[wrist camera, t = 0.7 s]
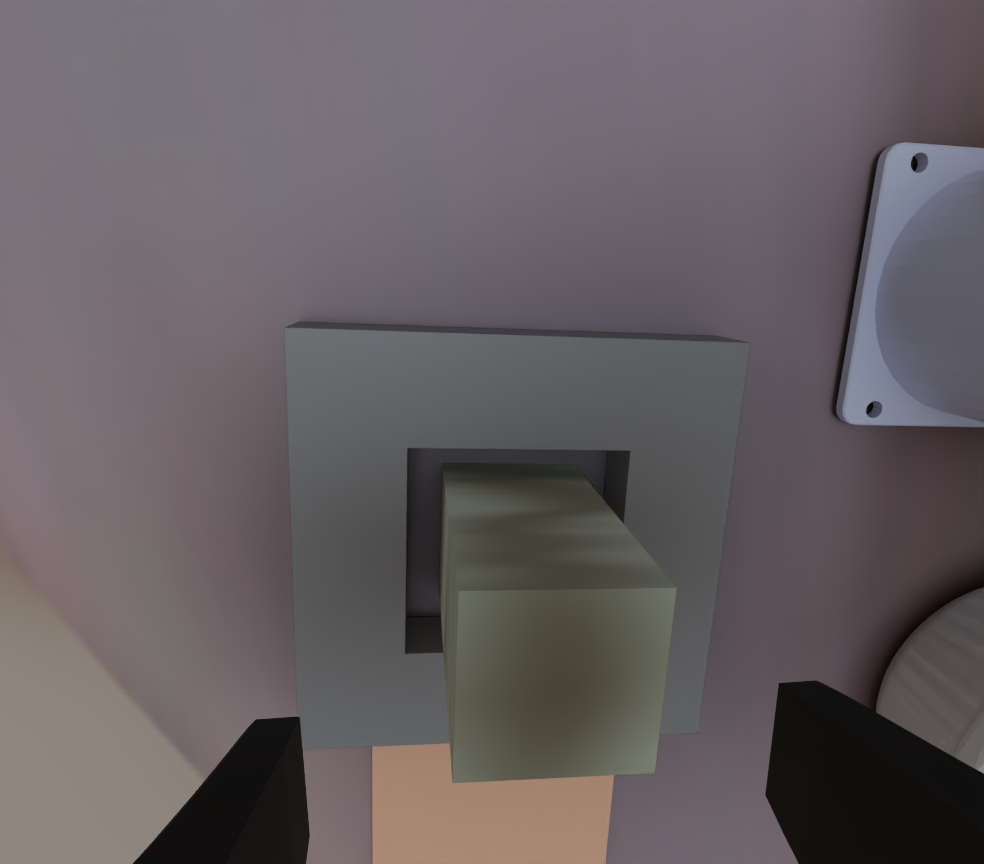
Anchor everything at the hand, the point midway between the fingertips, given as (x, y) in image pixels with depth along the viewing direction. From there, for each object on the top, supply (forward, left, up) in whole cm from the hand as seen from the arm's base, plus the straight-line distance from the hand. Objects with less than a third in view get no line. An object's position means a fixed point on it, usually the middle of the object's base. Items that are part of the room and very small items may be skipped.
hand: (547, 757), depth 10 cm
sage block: (-1, +1, -10) cm, 10 cm away
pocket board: (-1, +1, -10) cm, 10 cm away
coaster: (-1, +12, -10) cm, 16 cm away
